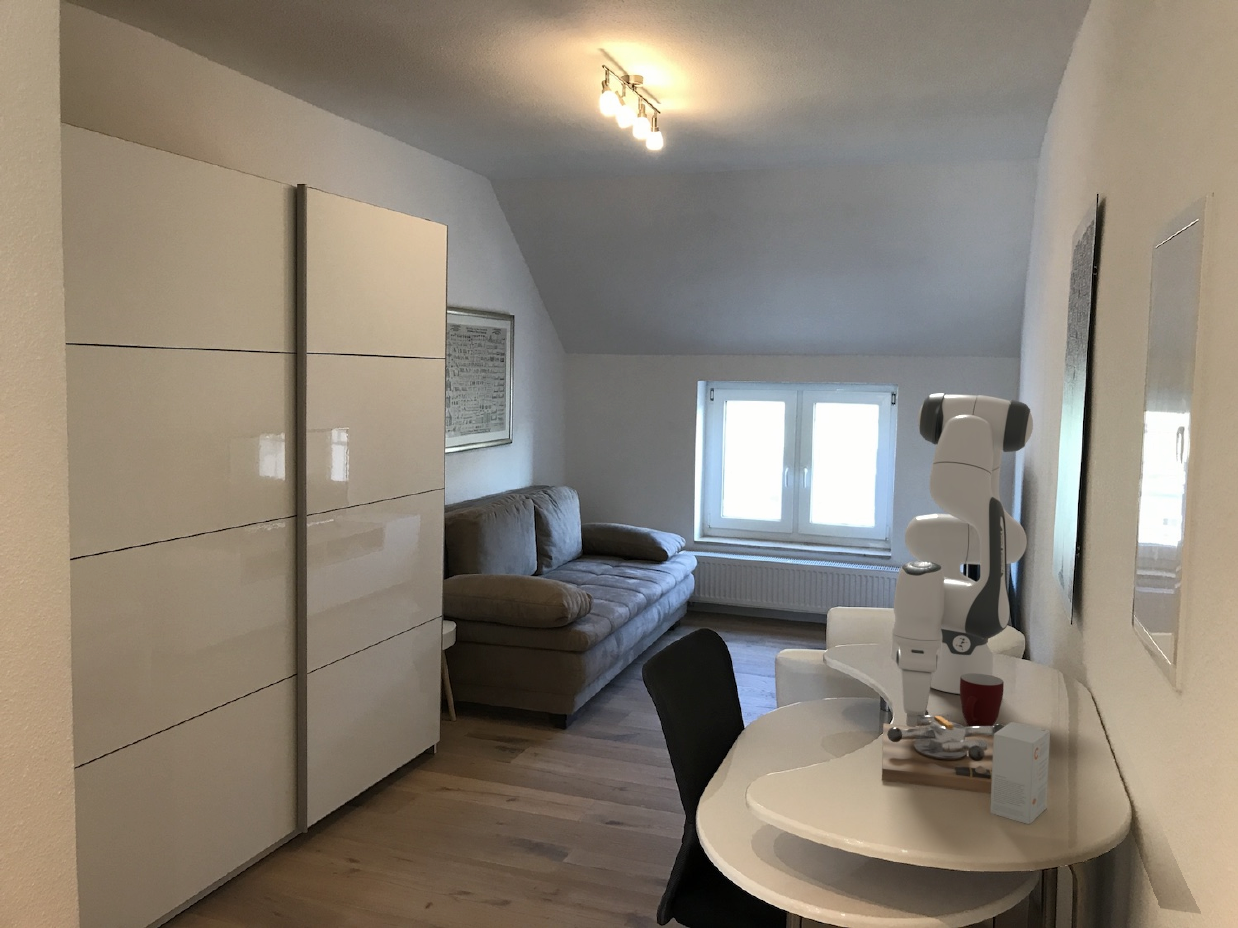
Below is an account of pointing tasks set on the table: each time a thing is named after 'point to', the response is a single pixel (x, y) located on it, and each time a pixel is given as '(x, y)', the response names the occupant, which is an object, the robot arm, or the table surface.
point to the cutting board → (935, 765)
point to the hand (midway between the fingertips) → (911, 725)
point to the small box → (1020, 772)
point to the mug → (980, 698)
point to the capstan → (945, 738)
